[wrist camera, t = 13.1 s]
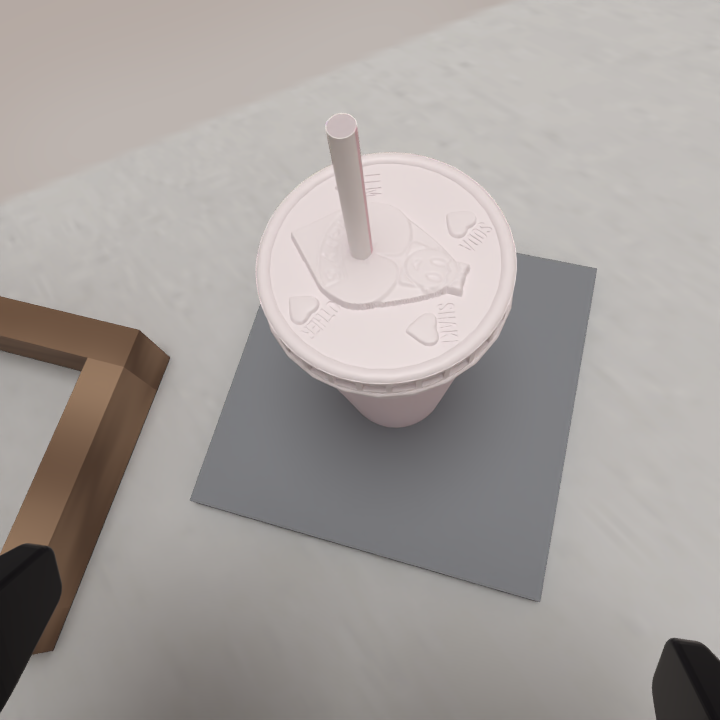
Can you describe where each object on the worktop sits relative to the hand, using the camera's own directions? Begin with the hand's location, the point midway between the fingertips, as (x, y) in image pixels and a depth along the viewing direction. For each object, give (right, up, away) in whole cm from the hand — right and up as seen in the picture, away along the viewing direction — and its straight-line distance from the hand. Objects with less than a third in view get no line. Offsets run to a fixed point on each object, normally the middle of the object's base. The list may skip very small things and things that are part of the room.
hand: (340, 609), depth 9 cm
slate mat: (+2, +3, +15) cm, 16 cm away
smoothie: (+2, +3, +15) cm, 15 cm away
